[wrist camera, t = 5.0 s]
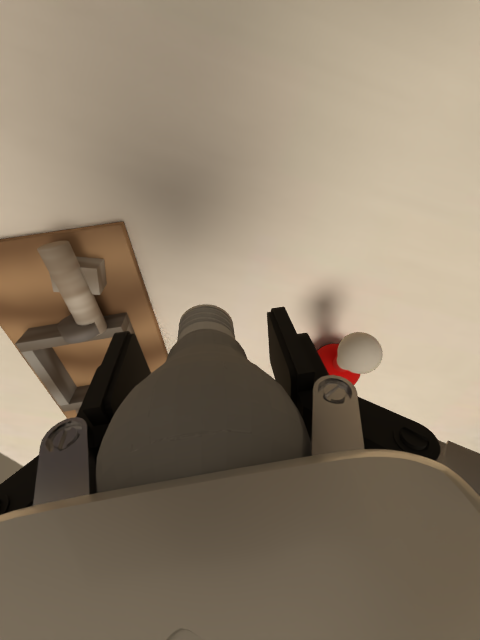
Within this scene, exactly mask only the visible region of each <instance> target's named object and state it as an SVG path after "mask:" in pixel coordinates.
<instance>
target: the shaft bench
mask: <svg viewBox="0 0 480 640" xmlns="http://www.w3.org/2000/svg"><path fill="white" fill-rule="evenodd" d="M0 326H1V327H2V329H3V330H4V331H5V333H6V334H7V335H8V337H9V338H10V340H11V341H12V342H13V344H14V345H15V347H16V348H17V349H18V351H19V352H20V354H21V355H22V356H23V358H24V359H25V360H26V362H27V363H28V365H29V366H30V367H31V369H32V370H33V372H34V373H35V374H36V376H37V377H38V379H39V380H40V381H41V383H42V384H43V385H44V387H45V388H46V390H47V391H48V392H49V394H50V395H51V397H52V398H53V399H54V401H55V402H56V404H57V405H58V406H59V408H60V409H61V410H62V412H63V413H64V415H65V416H66V417H67V419H68V418H73V417H76V416H77V414H78V411H79V409H80V407H81V404H82V402H83V400H84V397H85V395H86V393H87V390H88V388H89V386H90V383H91V381H92V379H93V376H94V374H95V372H96V369H97V368H98V367H99V366H101V364H102V361H103V359H104V356H105V354H106V352H107V349H108V347H109V344H110V342H111V340H112V337H113V335H114V333H118V332H124V331H129V332H130V333H131V334H133V333H134V334H135V335H136V338H137V340H138V343H139V345H140V347H141V350H142V352H143V355H144V357H145V359H146V362H147V364H148V367H149V369H150V372H151V373H152V372H153V371H155V370H156V369H157V368H159V367H160V366H162V365H163V364H164V363H165V362H166V359H167V357H168V353H167V350H166V347H165V344H164V341H163V338H162V335H161V332H160V329H159V326H158V323H157V320H156V317H155V314H154V311H153V308H152V306H151V303H150V300H149V297H148V294H147V291H146V288H145V285H144V282H143V279H142V276H141V273H140V270H139V267H138V264H137V261H136V258H135V255H134V252H133V249H132V246H131V243H130V240H129V237H128V234H127V231H126V228H125V225H124V222H116V223H109V224H103V225H96V226H89V227H82V228H75V229H68V230H61V231H54V232H47V233H41V234H34V235H27V236H20V237H13V238H6V239H0Z"/></svg>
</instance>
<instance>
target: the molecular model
mask: <svg viewBox="0 0 480 640" xmlns="http://www.w3.org/2000/svg"><path fill="white" fill-rule="evenodd" d="M317 352H318V354H319V356H320V358H321V360H322V362H323V364H324V366H325V367H326V369H327V371H328V373H329V375H336V376H341V377H343V378H345V379H347V380H348V381H350V382H351V383H352V384H353V385H354V384H355V383H356V382H357V381H358V379H359V377H360V374H365V373H369V372H371V371H373V370H374V369H376V368H377V367H378V366H379V364H380V362H381V360H382V348H381V346H380V344H379V342H378V341H377V340H376V339H375V338H374V337H373V336H371V335H369V334H367V333H362V332H356V333H351V334H349V335H347V336H346V337H344V338H343V339H342V340H341V342H340V344H328V345H325V346H323V347H321V348H320V349H319V350H318V351H317Z"/></svg>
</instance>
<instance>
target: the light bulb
mask: <svg viewBox="0 0 480 640" xmlns="http://www.w3.org/2000/svg"><path fill="white" fill-rule="evenodd" d="M308 456H311V442H310V438H309V435H308V432H307V429H306V426H305V423H304V420H303V418H302V416H301V414H300V412H299V410H298V409H297V407H296V406H295V404H294V403H293V401H292V400H291V398H290V397H289V395H288V394H287V392H286V391H285V390H284V388H283V387H282V386H281V385H280V384H279V383H278V382H277V381H276V380H274V379H273V378H272V377H271V376H270V375H268V374H267V373H265V372H264V371H263V370H261V369H260V368H259V367H258V366H257V365H255V364H253V363H251V362H250V361H249V360H248V359H247V357H246V354H245V352H244V350H243V348H242V347H241V345H240V344H239V343H238V342H237V341H236V340H235V335H234V328H233V322H232V319H231V317H230V316H229V314H228V313H227V312H226V311H224V310H223V309H221V308H219V307H217V306H213V305H198V306H195V307H192V308H190V309H189V310H187V311H186V312H185V313H184V314H183V316H182V317H181V319H180V323H179V331H178V340H177V343H176V344H175V345H174V346H173V347H172V349H171V350H170V352H169V354H168V357H167V359H166V362H165V363H164V364H163V365H162V366H160V367H159V368H157V369H156V370H155V371H153V372H152V373H151V374H150V375H149V376H148V377H146V378H145V379H144V380H143V381H142V382H140V383H139V384H138V385H137V386H135V387H134V388H133V389H132V391H131V392H130V393H129V394H128V395H127V397H126V398H125V399H124V401H123V402H122V403H121V405H120V406H119V408H118V409H117V411H116V412H115V414H114V416H113V418H112V420H111V422H110V424H109V426H108V428H107V430H106V433H105V435H104V437H103V440H102V443H101V446H100V449H99V452H98V455H97V462H96V493H101V492H106V491H112V490H117V489H123V488H128V487H134V486H140V485H145V484H151V483H156V482H162V481H168V480H173V479H179V478H185V477H190V476H196V475H202V474H208V473H213V472H219V471H225V470H230V469H236V468H242V467H248V466H254V465H260V464H266V463H272V462H278V461H283V460H289V459H295V458H301V457H308Z"/></svg>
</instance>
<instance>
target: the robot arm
mask: <svg viewBox="0 0 480 640" xmlns="http://www.w3.org/2000/svg"><path fill="white" fill-rule="evenodd" d="M267 321H268V337H269V354H270V362H271V366H272V370H273V373H274V376H275V380H276V381H277V382H278V383H279V384H280V385H281V386H282V387H283V388H284V390H285V391H286V392H287V394H288V395H289V397H290V398H291V400H292V401H293V403H294V404H295V406H296V407H297V409H298V410H299V412H300V414H301V416H302V418H303V420H304V423H305V426H306V429H307V432H308V435H309V438H310V442H311V456H308V457H301V458H295V459H289V460H283V461H278V462H272V463H266V464H260V465H254V466H248V467H242V468H236V469H230V470H225V471H219V472H213V473H208V474H202V475H196V476H190V477H185V478H179V479H173V480H168V481H162V482H156V483H151V484H145V485H140V486H134V487H128V488H123V489H117V490H112V491H106V492H101V493H96V462H97V455H98V452H99V449H100V446H101V443H102V440H103V437H104V435H105V433H106V430H107V428H108V426H109V424H110V422H111V420H112V418H113V416H114V414H115V412H116V411H117V409H118V408H119V406H120V405H121V403H122V402H123V401H124V399H125V398H126V397H127V395H128V394H129V393H130V392H131V391H132V389H133V388H134V387H135V386H137V385H138V384H139V383H140V382H142V381H143V380H144V379H145V378H146V377H148V376H149V375H150V374H151V372H150V369H149V367H148V364H147V362H146V359H145V357H144V355H143V352H142V350H141V347H140V345H139V343H138V340H137V338H136V335H135V334H134V333H133V334H131V333H130V332H129V331H124V332H118V333H114V335H113V337H112V340H111V342H110V344H109V347H108V349H107V352H106V354H105V356H104V359H103V361H102V364H101V366H99V367H98V368H97V369H96V372H95V374H94V376H93V379H92V381H91V383H90V386H89V388H88V390H87V393H86V395H85V397H84V400H83V402H82V404H81V407H80V409H79V411H78V414H77V416H76V417H73V418H68V419H65V420H63V421H61V422H59V423H57V424H56V425H55V426H53V427H52V428H51V429H50V430H49V431H48V432H47V433H46V434H45V436H44V438H43V439H42V442H41V445H40V451H39V455H38V456H37V457H36V458H34V459H33V460H32V461H30V462H29V463H28V464H26V465H25V466H24V467H23V468H21V469H20V470H19V471H17V472H16V473H15V474H13V475H12V476H11V477H9V478H8V479H7V480H5V481H4V482H3V483H2V484H0V640H480V454H479V453H477V452H475V451H472V450H470V449H467V448H465V447H462V446H460V445H457V444H455V443H453V442H450V441H447V443H444V442H441V441H439V440H438V439H437V438H436V437H435V435H434V434H433V433H432V432H431V431H430V430H429V429H427V428H426V427H424V426H423V425H421V424H419V423H417V422H415V421H412V420H410V419H408V418H406V417H403V416H401V415H399V414H396V413H394V412H392V411H389V410H387V409H385V408H383V407H380V406H378V405H376V404H373V403H371V402H369V401H366V400H364V399H362V398H360V397H358V396H357V391H356V388H355V387H354V385H353V384H352V383H351V382H350V381H348V380H347V379H345V378H343V377H341V376H336V375H329V373H328V371H327V369H326V367H325V366H324V364H323V362H322V360H321V358H320V356H319V354H318V352H317V350H316V348H315V346H314V345H313V343H312V341H311V339H310V337H309V335H308V334H307V333H302V334H297V333H296V331H295V329H294V326H293V324H292V322H291V320H290V318H289V316H288V314H287V311H286V309H285V307H278V308H272V309H271V312H267Z"/></svg>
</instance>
